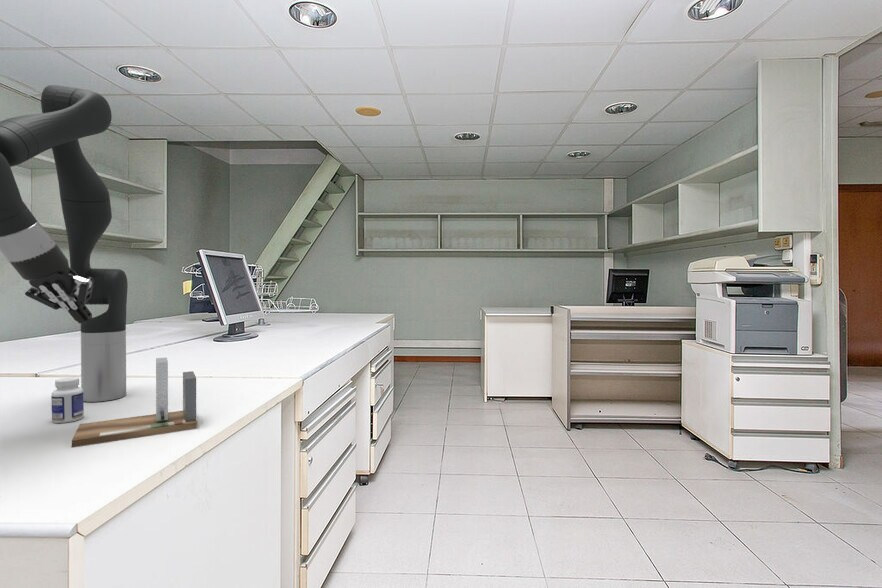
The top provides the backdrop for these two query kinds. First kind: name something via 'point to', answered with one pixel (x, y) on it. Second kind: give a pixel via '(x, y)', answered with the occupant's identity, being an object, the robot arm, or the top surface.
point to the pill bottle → (67, 401)
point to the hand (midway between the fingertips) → (86, 320)
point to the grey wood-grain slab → (189, 396)
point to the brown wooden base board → (129, 428)
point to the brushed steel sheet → (161, 389)
